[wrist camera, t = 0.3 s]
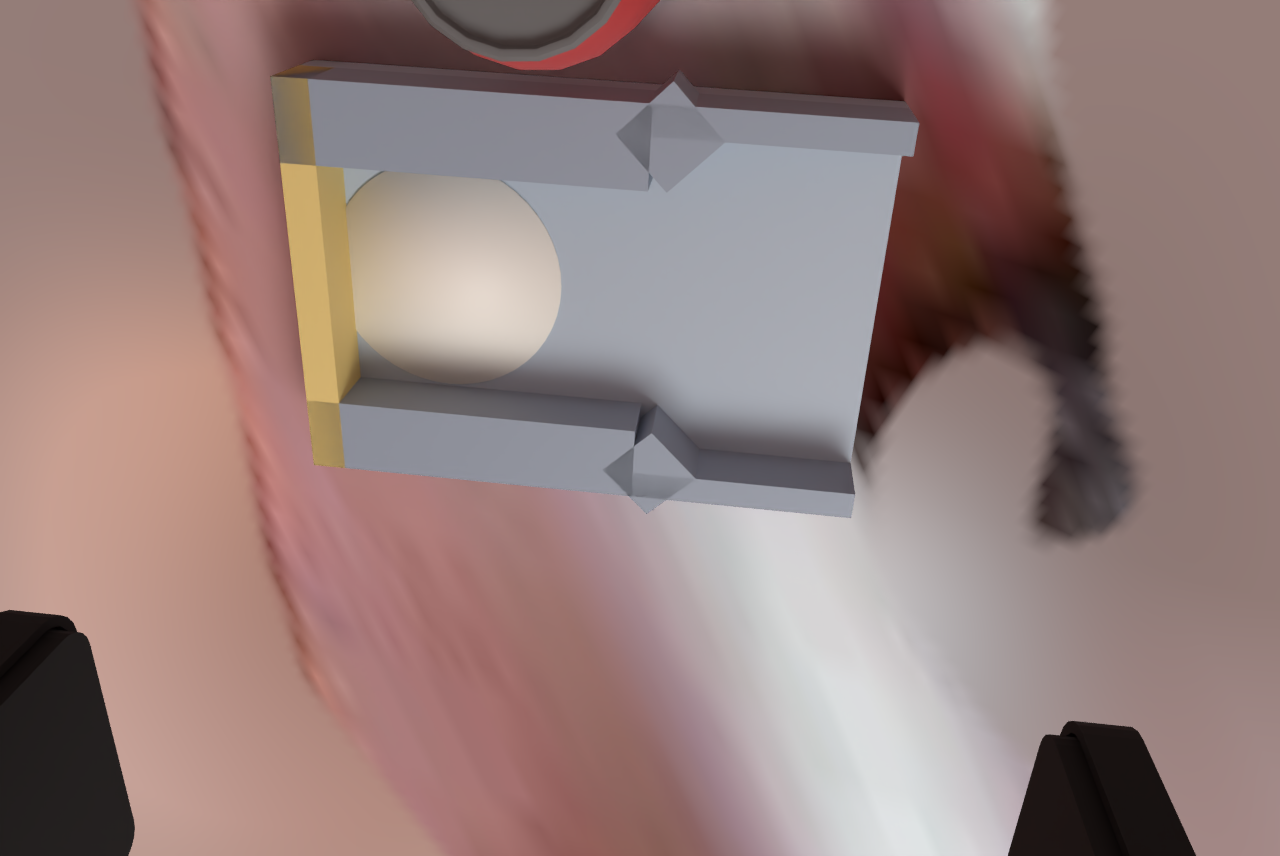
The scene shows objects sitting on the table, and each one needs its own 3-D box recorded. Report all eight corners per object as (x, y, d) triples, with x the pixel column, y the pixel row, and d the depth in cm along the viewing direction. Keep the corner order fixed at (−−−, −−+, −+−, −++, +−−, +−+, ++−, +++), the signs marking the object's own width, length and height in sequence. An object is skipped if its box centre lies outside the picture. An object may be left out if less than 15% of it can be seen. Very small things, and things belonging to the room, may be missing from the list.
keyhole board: (311, 37, 35) (267, 52, 32) (908, 79, 34) (923, 98, 31) (348, 437, 42) (315, 480, 39) (842, 485, 41) (848, 534, 38)
